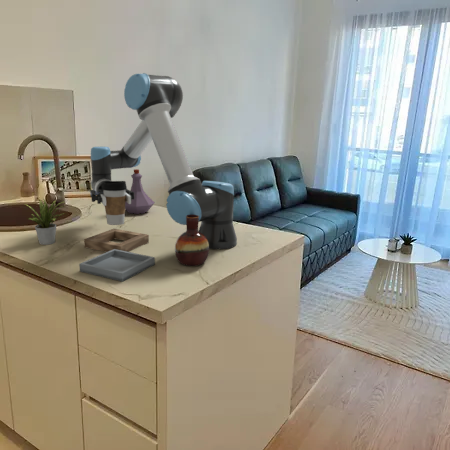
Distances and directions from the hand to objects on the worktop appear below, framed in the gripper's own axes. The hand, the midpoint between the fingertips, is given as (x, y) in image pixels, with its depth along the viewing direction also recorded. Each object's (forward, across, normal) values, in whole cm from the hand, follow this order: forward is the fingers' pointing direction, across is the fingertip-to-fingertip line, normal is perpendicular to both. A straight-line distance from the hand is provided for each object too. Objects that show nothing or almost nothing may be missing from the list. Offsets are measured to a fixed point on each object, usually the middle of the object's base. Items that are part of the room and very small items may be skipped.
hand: (117, 200), depth 145 cm
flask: (-53, -19, -17) cm, 58 cm away
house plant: (-15, +22, -17) cm, 31 cm away
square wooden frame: (-5, 0, -17) cm, 18 cm away
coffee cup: (-5, 0, -9) cm, 10 cm away
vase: (+21, -19, -18) cm, 33 cm away
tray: (+18, +4, -17) cm, 26 cm away
